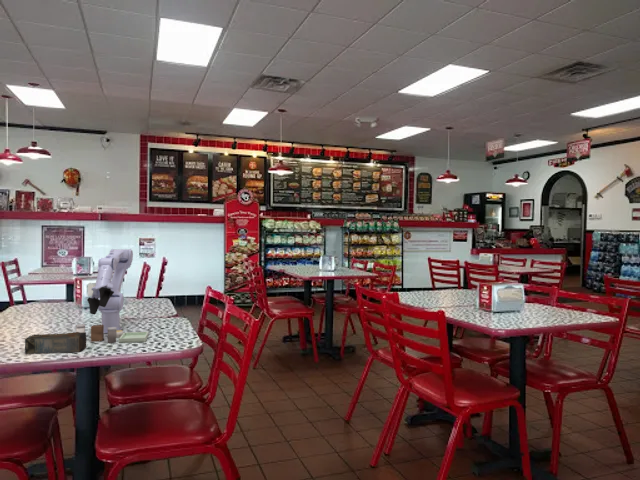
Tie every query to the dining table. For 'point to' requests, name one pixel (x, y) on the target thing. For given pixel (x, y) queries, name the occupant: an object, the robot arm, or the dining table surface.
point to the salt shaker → (80, 328)
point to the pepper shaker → (112, 334)
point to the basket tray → (133, 337)
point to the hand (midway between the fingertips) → (97, 310)
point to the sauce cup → (119, 333)
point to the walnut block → (97, 333)
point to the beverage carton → (55, 343)
